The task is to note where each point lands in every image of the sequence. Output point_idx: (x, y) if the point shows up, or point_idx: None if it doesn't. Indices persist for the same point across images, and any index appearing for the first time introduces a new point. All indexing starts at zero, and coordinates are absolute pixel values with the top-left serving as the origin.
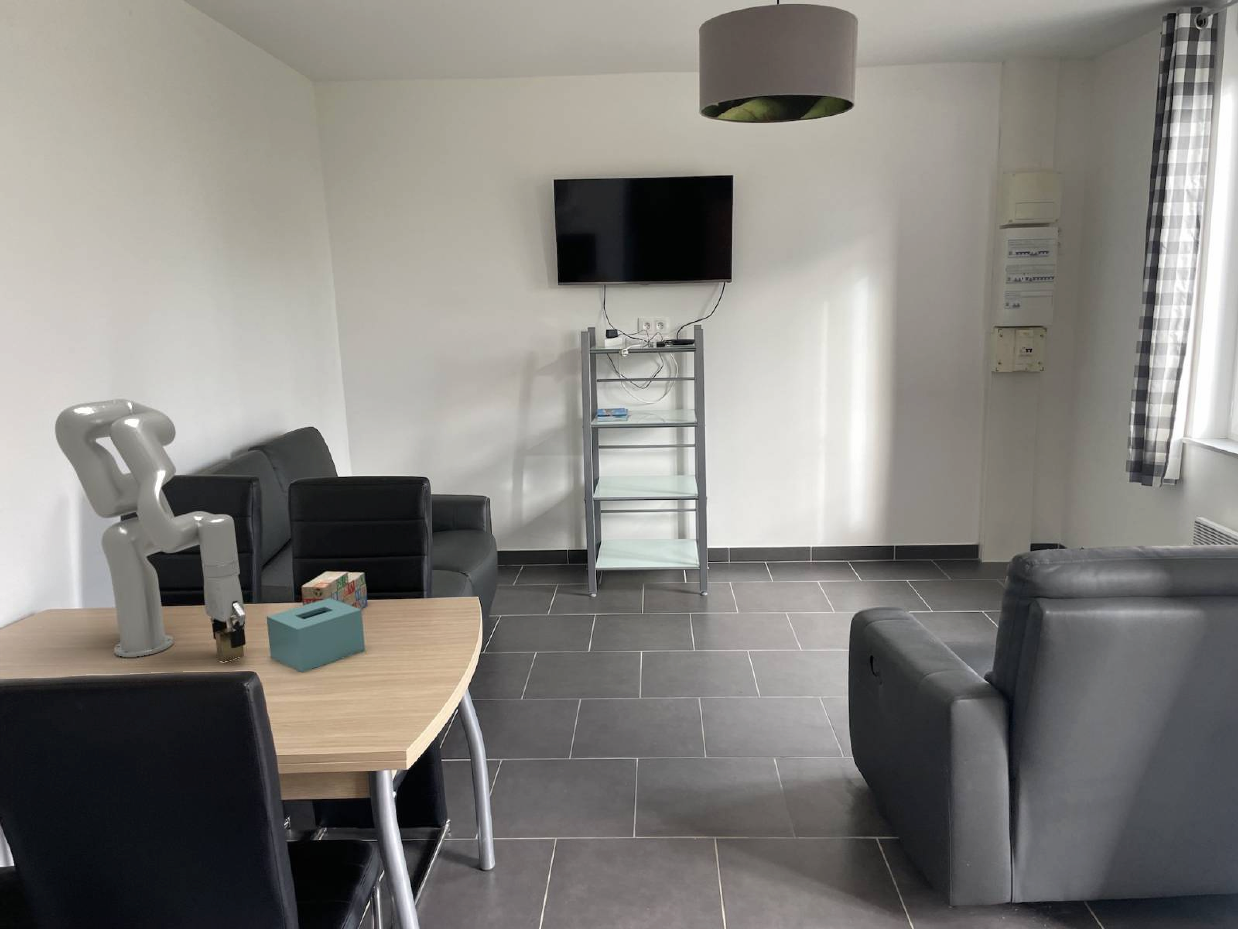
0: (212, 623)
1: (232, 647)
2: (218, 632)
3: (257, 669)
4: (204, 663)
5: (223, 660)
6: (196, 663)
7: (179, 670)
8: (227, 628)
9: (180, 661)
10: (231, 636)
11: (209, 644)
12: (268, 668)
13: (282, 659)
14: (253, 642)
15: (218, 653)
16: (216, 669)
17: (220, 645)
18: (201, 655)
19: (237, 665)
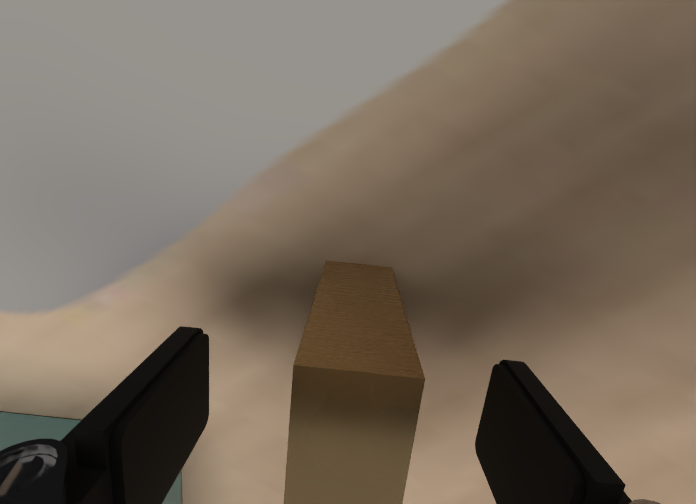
0: (616, 489)
1: (182, 329)
2: (371, 391)
3: (77, 311)
4: (431, 200)
5: (323, 269)
6: (479, 172)
7: (475, 36)
8: (398, 498)
9: (615, 132)
10: (114, 392)
11: (677, 380)
12: (46, 347)
13: (37, 433)
14: (458, 499)
15: (377, 283)
16: (271, 187)
17: (324, 307)
18: (569, 262)
19: (225, 287)
